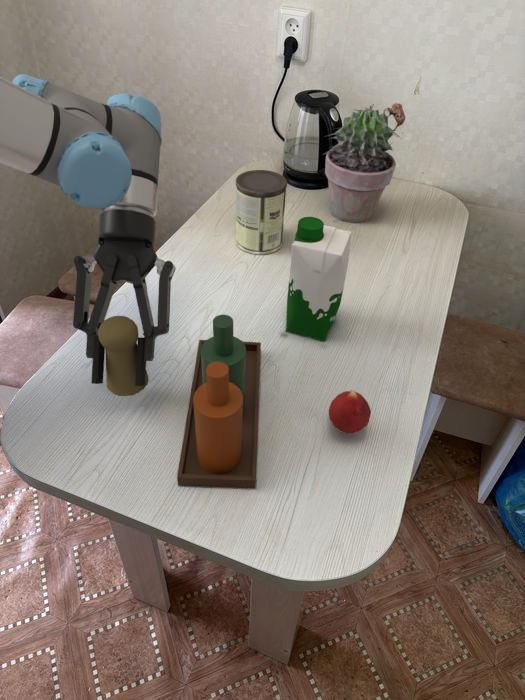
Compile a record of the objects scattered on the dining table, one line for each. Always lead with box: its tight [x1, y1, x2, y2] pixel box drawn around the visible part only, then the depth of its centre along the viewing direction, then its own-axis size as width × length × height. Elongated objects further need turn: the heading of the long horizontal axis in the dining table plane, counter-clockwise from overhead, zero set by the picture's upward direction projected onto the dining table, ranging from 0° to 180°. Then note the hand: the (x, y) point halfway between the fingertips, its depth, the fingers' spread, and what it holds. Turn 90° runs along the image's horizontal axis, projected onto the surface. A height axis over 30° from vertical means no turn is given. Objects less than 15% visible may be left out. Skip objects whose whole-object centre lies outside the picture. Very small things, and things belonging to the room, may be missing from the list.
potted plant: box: [315, 102, 406, 224], centre depth 113 cm, size 18×20×25 cm
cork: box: [98, 315, 150, 397], centre depth 70 cm, size 6×6×11 cm
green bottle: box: [201, 314, 246, 412], centre depth 69 cm, size 6×6×17 cm
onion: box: [328, 389, 372, 435], centre depth 71 cm, size 6×6×8 cm
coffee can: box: [235, 169, 288, 256], centre depth 105 cm, size 10×10×14 cm
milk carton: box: [285, 216, 352, 342], centre depth 84 cm, size 9×9×20 cm
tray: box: [176, 339, 262, 490], centre depth 75 cm, size 10×26×2 cm, turn 179°
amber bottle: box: [193, 362, 243, 474], centre depth 63 cm, size 6×6×17 cm
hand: (118, 384), depth 69 cm, fingers closed on cork, 5 cm apart
